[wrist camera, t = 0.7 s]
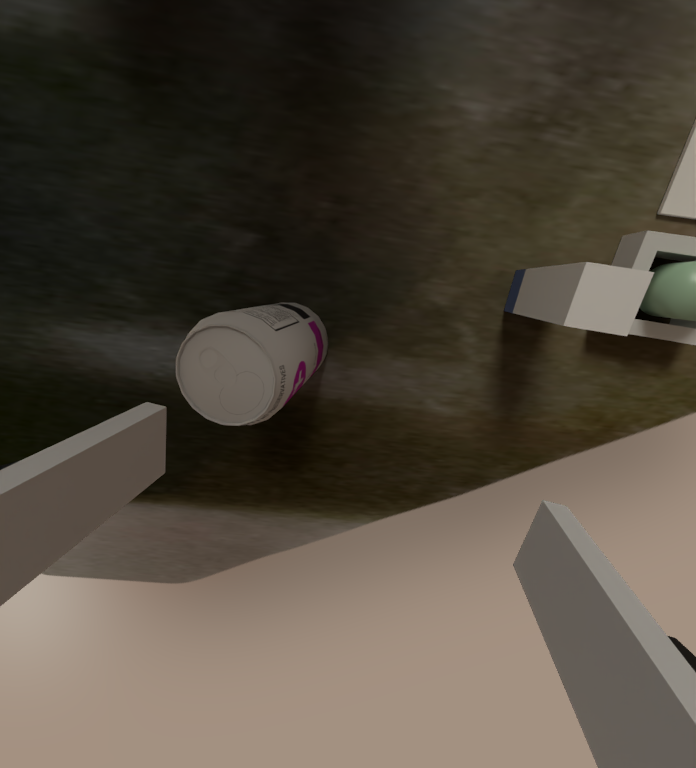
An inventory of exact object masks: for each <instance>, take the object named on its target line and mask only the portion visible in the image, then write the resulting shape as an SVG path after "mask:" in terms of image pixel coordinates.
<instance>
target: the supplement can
mask: <svg viewBox="0 0 696 768" xmlns="http://www.w3.org/2000/svg"><path fill="white" fill-rule="evenodd" d="M327 348H328V338H327V333H326V328H325V327H324V325H323V323H322V322H321V320H320V318H319V316H317V315H316V314H315V313H314V312H313V311H311V310H310V309H309V308H308V307H305V306H303V305H300V304H297V303H277V304H270V305H264V306H258V307H251V308H245V309H239V310H232V311H226V312H220V313H217V314H214V315H212V316H209V317H207V318H205V319H202V320H200V322H199V323H198V324H197V325H196V326H195V327H194V328H193V329H192V330H191V331H190V332H189V333H188V335H187V338H186V339H185V340H184V341H183V342H182V344H181V346H180V349H179V352H178V354H177V357H176V378H177V381H178V384H179V387H180V390H181V392H182V394H183V396H184V397H185V398H186V400H187V401H188V403H189V404H190V405H191V407H192V408H193V409H195V410H196V411H197V412H198V413H200V414H201V415H202V416H203V417H205V418H206V419H208V420H211V421H213V422H216V423H219V424H221V425H233V426H240V425H253V424H256V423H259V422H262V421H265V420H268V419H269V418H270V417H272V416H273V415H274V414H275V413H276V412H278V411H279V410H280V409H281V408H282V407H283V406H284V405H285V404H286V403H287V402H288V401H289V400H290V398H291V397H292V396H293V395H294V394H295V393H296V392H297V391H298V390H299V389H300V388H301V387H302V386H303V384H304V383H305V382H306V381H307V380H308V379H309V378H310V377H311V376H312V375H313V374H314V373H315V371H316V370H317V369H318V368H319V367H320V366H321V364H322V362H323V361H324V359H325V357H326V355H327Z"/></svg>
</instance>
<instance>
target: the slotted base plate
mask: <svg viewBox="0 0 696 768" xmlns="http://www.w3.org/2000/svg"><path fill="white" fill-rule="evenodd" d="M657 214H659V215H666V216H673V217H681V218H688V219H695V220H696V119H695V122H694V124H693V127H692V129H691V131H690V134H689V136H688V139H687V141H686V144H685V146H684V149H683V151H682V154H681V156H680V158H679V161H678V163H677V166H676V168H675V171H674V173H673V176H672V178H671V181H670V183H669V185H668V188H667V190H666V193H665V195H664V198H663V200H662V203H661V205H660V208H659V210H658V212H657Z"/></svg>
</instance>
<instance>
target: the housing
mask: <svg viewBox="0 0 696 768" xmlns="http://www.w3.org/2000/svg"><path fill="white" fill-rule="evenodd" d="M655 257H656V258H663V259H670V260H677V261H684V262H692V261H696V237H690V236H682V235H675V234H668V233H661V232H654V231H643V232H638V233H634V234H629V235H624V236H622V239H621V241H620V244H619V246H618V249H617V252H616V254H615V257H614V259H613V262H612V265H611V266H616V267H623V268H630V269H636V270H643V271H649V269H650V267H651V265H652V262H653V260H654V258H655ZM628 334H632V335H638V336H644V337H650V338H656V339H662V340H668V341H674V342H680V343H686V344H692V345H696V321H690V320H682V319H674V318H671V320H670V323H669V324H663V323H657V322H651V321H645V320H639V319H634V321H633V324H632V326H631V328H630V331H629V333H628Z"/></svg>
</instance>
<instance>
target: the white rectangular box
mask: <svg viewBox="0 0 696 768" xmlns="http://www.w3.org/2000/svg"><path fill="white" fill-rule="evenodd" d="M653 274H654V272H650V271H643V270H636V269H630V268H623V267H616V266H610V265H603V264H597V263H590V262H582V263H574V264H565V265H557V266H548V267H540V268H531V269H523V270H516V272H515V276H514V279H513V282H512V285H511V289H510V292H509V295H508V299H507V302H506V305H505V309H504V311H506V312H510V313H514V314H518V315H522V316H526V317H530V318H534V319H538V320H542V321H546V322H550V323H555V324H559V325H563V326H568V327H574V328H580V329H586V330H592V331H598V332H604V333H610V334H616V335H622V336H627V335H628V333H629V331H630V328H631V326H632V324H633V321H634V319H635V317H636V314H637V312H638V310H639V307H640V305H641V303H642V300H643V298H644V296H645V293H646V291H647V289H648V286H649V284H650V282H651V279H652V277H653Z"/></svg>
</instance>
